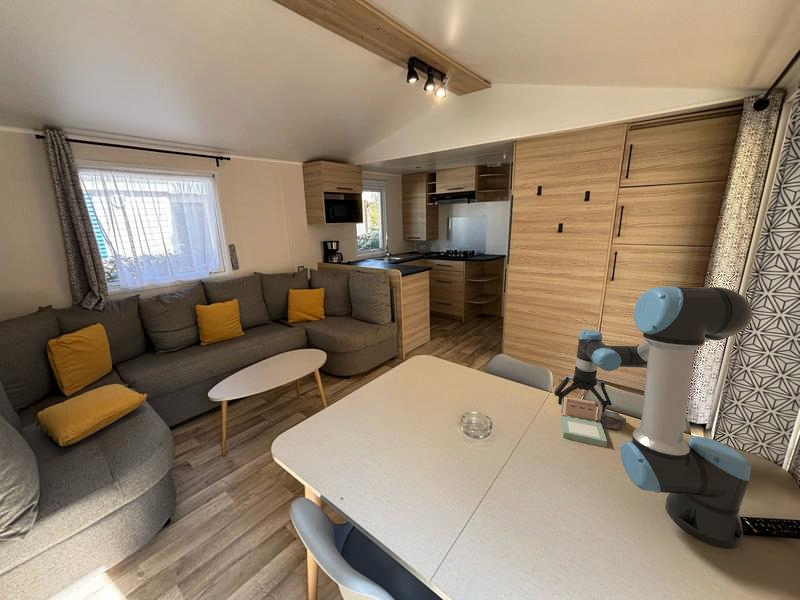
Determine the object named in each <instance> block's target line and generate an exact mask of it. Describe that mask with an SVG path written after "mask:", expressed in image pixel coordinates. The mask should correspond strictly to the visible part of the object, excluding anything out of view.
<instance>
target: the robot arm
mask: <svg viewBox="0 0 800 600" xmlns="http://www.w3.org/2000/svg"><path fill="white" fill-rule="evenodd" d="M752 317H753V309H752V307H751V304H750V303H749V301H748V300H747V299H746V297H744V296H743V295H742V294H740V293H739V292H737V291H735V290H733V289H730V288H729V289H728V288H725V287H722V286H721V287H720V286H719V287H718V286H717V287H716V286H708V287H706V286H705V287H704V286H703V287H702V286H699V287H698V286H693V287H692V286H664V287H663V286H661V287H660V286H659V287H658V286H657V287H652V288H649V289H648V290H646V291H644V292H643V294H641V295H640V296H639V297H638V299H637V301H636V303H635V306H634V310H633V320H634V321H635V322H634V325H635V327H636V328H637V330H638V331H640V332H641V333H642V338H643V339H644V341H643V342H641V343H639V344H637V345H607V344H605V342H602V341H603V334H602V332H600V331H598V330H595V329H589V328H587V329H583V330H580V332H579V335H578V336H579V337H578V342H577V351H576V359H575V367H574V374H573V376H570V375H568V374H566V375H564V379H563V380H562V381H561V383H560V384H559V385H558V387H557V388H556V389H555V390H554V396H555V397H558V399H557V403H558V405H560V407H559V410H560V411H559V412H560V413H561V414H563V413H564V405H565V403H564V402H565V397H566V396H568V394H571V392H573V391H576V390H577V389H578V390H582V391H583V390H584V391H591V393H593V395H594V396H595V397H596V399H598V401H599V402H598V408H597V412H596V417H597V418H596V419H597V420H598V421H599V420H601V414H602V412H603V413H604V412H605V410H606V407H607V406H612V405H613V404H612V401H611V399H610V397H609V394H608V392H607V389H606V384H605V381H604V380H603V379H601V380H597V373H598V368H600V369H601V370H603V371H604V372H605V371H606V372H612V371H615V370H617V369H619V368H639V369H646V373H645V383H644V392H643V402H642V412H641V419H640V427H638V428H636V429H635V430H633V431H632V438H631V441H630V440H626V441H624V442H623V443H621V445H620V447H619V448H620V449H619V450H620V451H619V452H620V458H621V459H620V460H621V463H622V466H623V469H624V471H625V473H626V475H627V476H628V478H629V479H630V481H631V482H632V483H633V484H634V485H635V486H636V487H637V488H639V490H642V491H646V492H654V493H657V494H659V493H666V494H667V497H666V501H665V504H664V506H665V510H666V513H667V515H668V516H669V517H670V518H671V520H672V521H673V522H674V523H675V524H676V525H677V526H679V528H681V529H682V530H683V531H684V532H686V533H688V535H690V536H692V537H694V538H695V539H697V540H699V541H701V542H703V543H706V544H708V545H711V546H713V547H716V548H722V549H735V548H738V547H739V546H740V545H741V544H742V540H743V536H744V531H743V525H742V520H741V517H740V509H741V506H742V504H743V500H744V497H745V494H746V491H747V488H748V485H749V482H750V480H751V471H752V467H751V464H750V462H749V461H748V459H746V457H745V456H743V455H742V454H741V453H740V452H738V451H737V450H736V449H733V448H732V447H730V446H728V445H726V444H725V443H722V442H720V441H718V440H714V439H712V438H709V437H704V436H697V435H696V436H691V437H690V439H689V440H688V441H687V442H686V441H684V433H685V425H686V419H687V418H686V417H687V408H688V403H689V402H688V401H689V393H690V386H691V379H692V378H691V377H692V371H693V365H694V364H693V363H694V355H695V351H696V350H698V349H699V348H702V347H703V346H704V344H705V343H707V342H709V341H722V340H725V339H727V338H730V337H733V336H735V335H736V334H739V333H740V332H742V331H743V330H745V329H746V328H747V327H748V326H749V325H750V323H751V321H752ZM571 381H572V383H571ZM568 383H571V384H570V385H569V386H567V385H568ZM597 385H598V387H599V388H600V389H601V392H602V393H603V396H604V398H605V400H604V398H603V397H602V395H601V394H600V393H599V392H598V390H597V389H596V388H595V386H597ZM566 386H567V387H566ZM687 443H688V444H687Z"/></svg>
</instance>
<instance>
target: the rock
mask: <svg viewBox="0 0 800 600" xmlns="http://www.w3.org/2000/svg"><path fill="white" fill-rule="evenodd" d="M598 422H601V425H602V427H604V428H606V429H614V430H620V429H621V428H623V427H624V426H625V425H626V423H627V418H626V417H624V416H623V415H621V414H620V413H619V412H616V411H609V410H606V409H605V412H604V413H603V412H602V414H601V420H598ZM623 425H624V426H623Z"/></svg>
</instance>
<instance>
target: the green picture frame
mask: <svg viewBox="0 0 800 600" xmlns="http://www.w3.org/2000/svg"><path fill="white" fill-rule="evenodd" d="M560 425H561V432H562V437H563V439H567V440H571V441H576V442H580V443H585V444H589V445H594V446H598V447H603V448H607V444H608V440H607V437H606V434H605V431H604V428H603V425H602V424H601V422H599V421H596V420H595V421H592V420H586V419H581V418H576V417H571V416H566V415H565V414H561V415H560Z"/></svg>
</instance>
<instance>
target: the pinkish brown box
mask: <svg viewBox="0 0 800 600" xmlns="http://www.w3.org/2000/svg"><path fill="white" fill-rule="evenodd" d="M565 403H566V404H565V409H564V410H565V412H564V415H566V416H571V417H576V418H581V419H586V420H592V421H596V416H597V410H598V408H597V405H596V402H595V401H594V400H593V401H592V400H586V399H581V398H577V397H569V396H567V397H566V401H565Z"/></svg>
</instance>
